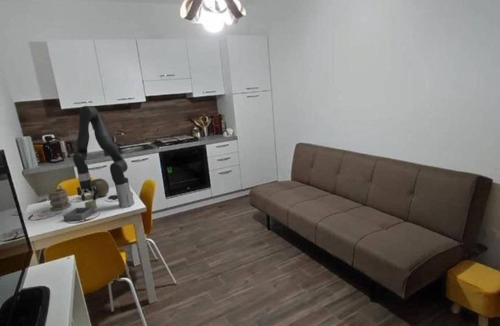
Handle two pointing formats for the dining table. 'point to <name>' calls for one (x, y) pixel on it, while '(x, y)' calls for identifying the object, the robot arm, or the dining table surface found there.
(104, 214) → the dining table surface
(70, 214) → the bin
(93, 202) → the olive block
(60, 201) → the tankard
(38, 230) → the dining table surface
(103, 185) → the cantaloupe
